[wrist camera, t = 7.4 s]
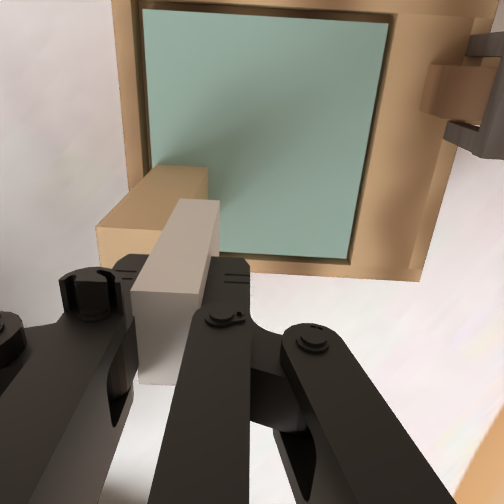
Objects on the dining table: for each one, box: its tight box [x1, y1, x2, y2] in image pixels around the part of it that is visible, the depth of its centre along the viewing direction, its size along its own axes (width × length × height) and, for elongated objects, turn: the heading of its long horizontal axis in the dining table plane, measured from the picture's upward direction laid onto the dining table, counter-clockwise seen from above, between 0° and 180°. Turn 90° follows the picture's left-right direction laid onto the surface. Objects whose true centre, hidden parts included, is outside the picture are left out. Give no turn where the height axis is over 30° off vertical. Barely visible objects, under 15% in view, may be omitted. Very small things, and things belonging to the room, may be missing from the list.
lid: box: [95, 9, 389, 269], centre depth 20 cm, size 13×14×12 cm
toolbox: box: [111, 0, 504, 282], centre depth 27 cm, size 24×17×17 cm
